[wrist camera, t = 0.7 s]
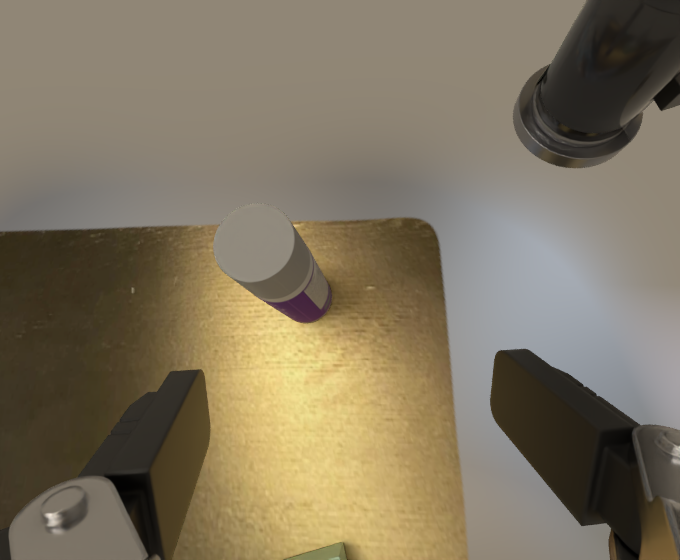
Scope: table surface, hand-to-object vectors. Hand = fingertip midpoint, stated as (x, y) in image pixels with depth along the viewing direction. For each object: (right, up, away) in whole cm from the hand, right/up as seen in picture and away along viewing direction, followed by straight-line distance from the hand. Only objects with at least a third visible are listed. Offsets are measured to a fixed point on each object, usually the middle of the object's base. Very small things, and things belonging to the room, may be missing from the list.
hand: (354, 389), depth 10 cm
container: (-3, +1, +24) cm, 25 cm away
